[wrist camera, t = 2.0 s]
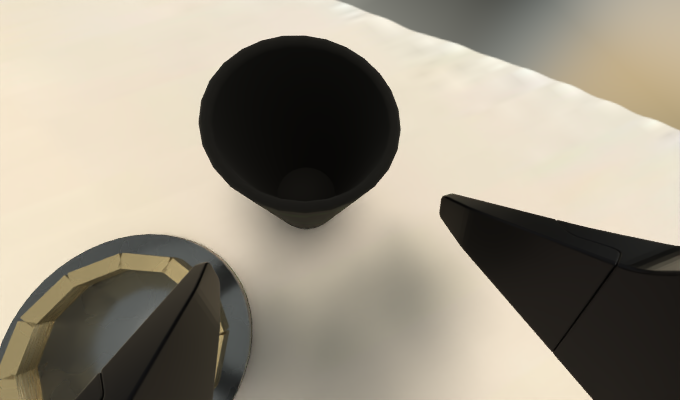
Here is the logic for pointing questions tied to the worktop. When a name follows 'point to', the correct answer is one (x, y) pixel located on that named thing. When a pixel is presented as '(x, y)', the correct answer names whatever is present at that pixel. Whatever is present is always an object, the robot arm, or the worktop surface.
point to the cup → (299, 127)
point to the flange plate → (113, 317)
